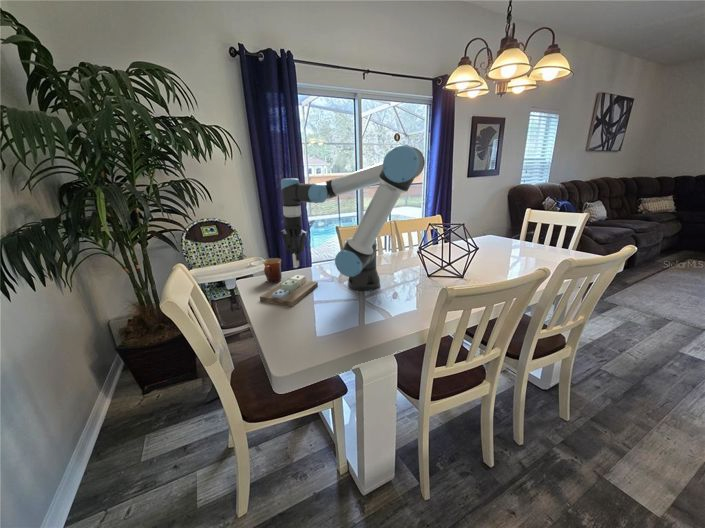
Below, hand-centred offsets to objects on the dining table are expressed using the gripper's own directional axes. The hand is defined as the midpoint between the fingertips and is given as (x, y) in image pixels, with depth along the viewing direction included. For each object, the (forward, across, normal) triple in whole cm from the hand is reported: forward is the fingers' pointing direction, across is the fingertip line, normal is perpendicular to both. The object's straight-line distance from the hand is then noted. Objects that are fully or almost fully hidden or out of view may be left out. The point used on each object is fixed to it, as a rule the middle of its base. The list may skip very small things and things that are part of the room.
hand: (296, 266), depth 132 cm
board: (+10, 0, +7) cm, 12 cm away
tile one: (+8, 0, 0) cm, 8 cm away
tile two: (+8, 0, +7) cm, 11 cm away
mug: (+11, +16, -2) cm, 19 cm away
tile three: (+10, 0, +14) cm, 17 cm away
